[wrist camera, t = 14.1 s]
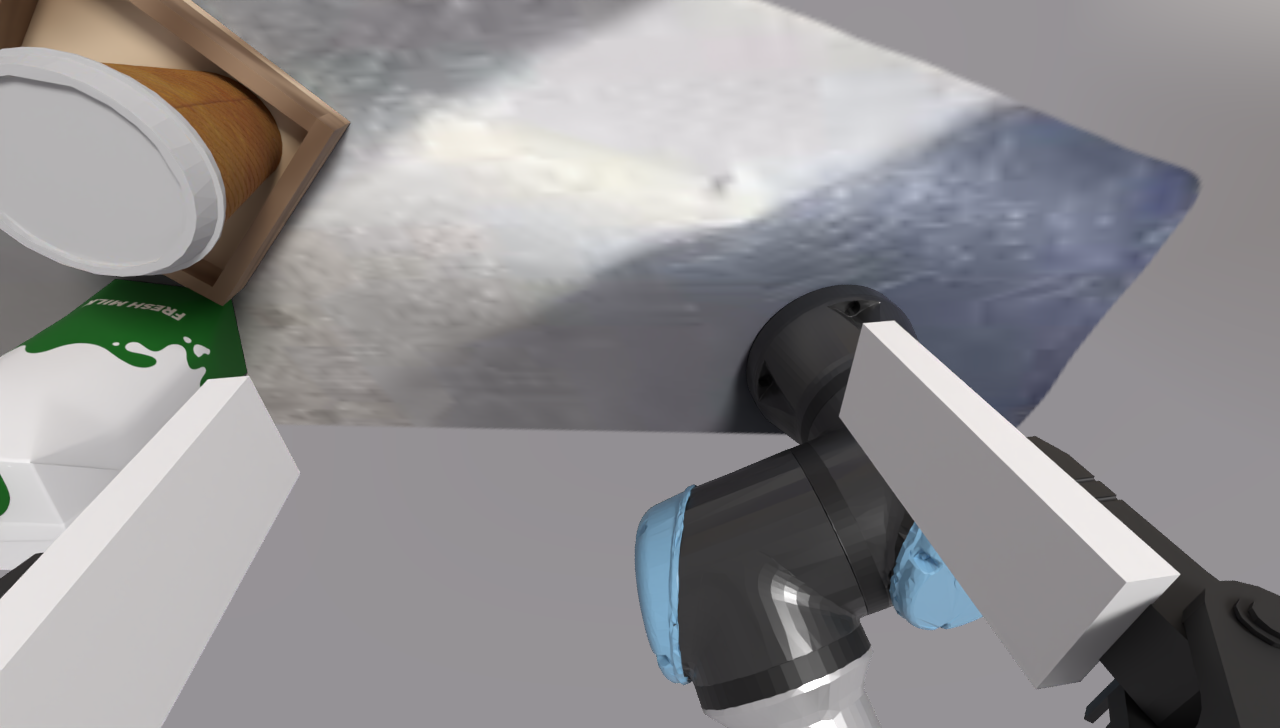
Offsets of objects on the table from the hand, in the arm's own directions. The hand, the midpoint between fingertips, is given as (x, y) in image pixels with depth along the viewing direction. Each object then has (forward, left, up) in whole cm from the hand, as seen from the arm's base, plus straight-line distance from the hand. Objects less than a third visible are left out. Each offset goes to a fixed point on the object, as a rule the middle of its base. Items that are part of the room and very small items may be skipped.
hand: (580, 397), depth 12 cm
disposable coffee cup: (+15, +13, -28) cm, 35 cm away
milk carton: (+12, +29, -29) cm, 43 cm away
